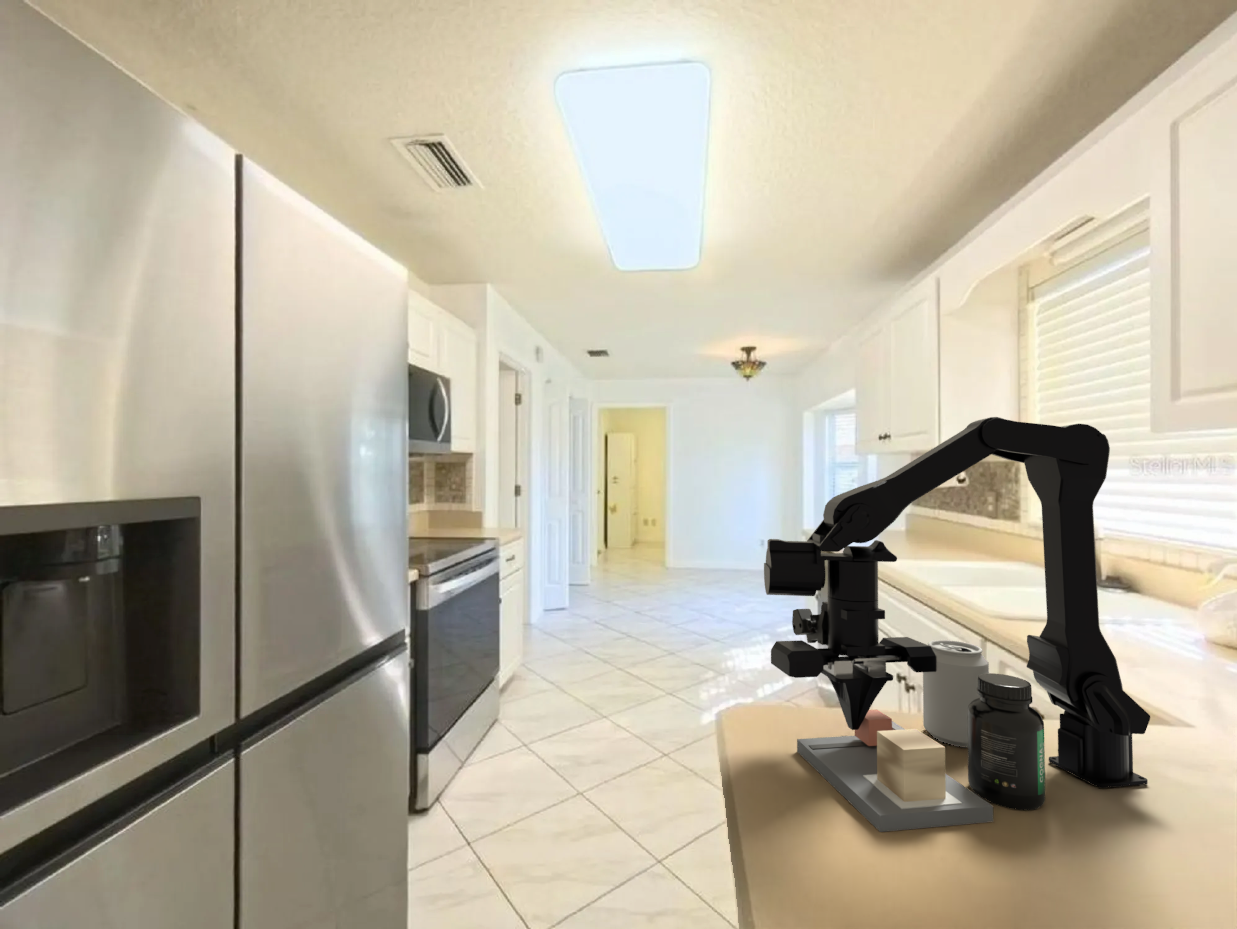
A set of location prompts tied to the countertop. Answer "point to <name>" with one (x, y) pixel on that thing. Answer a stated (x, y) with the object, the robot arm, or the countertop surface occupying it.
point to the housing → (911, 765)
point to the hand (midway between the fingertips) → (853, 728)
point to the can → (951, 690)
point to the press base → (857, 781)
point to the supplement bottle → (1006, 744)
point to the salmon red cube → (873, 727)
